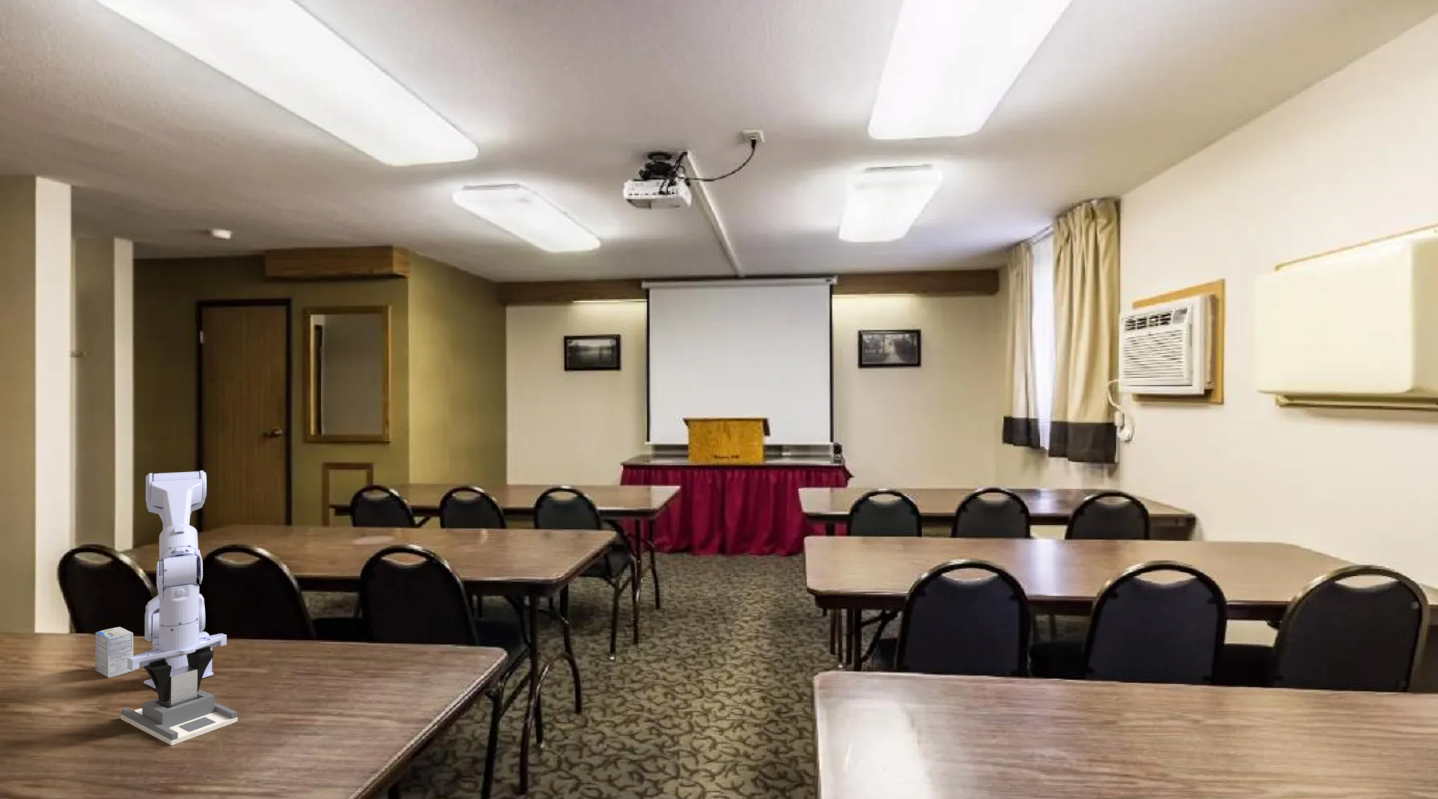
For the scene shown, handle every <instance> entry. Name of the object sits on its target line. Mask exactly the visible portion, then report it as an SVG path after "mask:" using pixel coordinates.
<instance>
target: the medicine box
mask: <svg viewBox="0 0 1438 799" xmlns="http://www.w3.org/2000/svg"><path fill="white" fill-rule="evenodd" d="M94 642H95V643H94V644H95V646H94V647H95V648H94V649H95V652H94V654H95V656H94V657H95V658H94V662H95V664H94V665H95V666H94V667H95V672H97V673H99V674H101V675H103V676H105V677H107V678H108V679H110V678H114V677H119V676H122V675H125V674H129V672H130V673H133V672H134V670H130V669H128V668H127V658H128V657H131V656H134V633H133V632H132V631H129V630H127V629H126V628H123V627H121V626H118V627H117V626H116V627H113V628H108V629H107V628H106V629H103V630H99V631H96V632H95V639H94Z"/></svg>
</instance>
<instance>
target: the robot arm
mask: <svg viewBox="0 0 1438 799" xmlns="http://www.w3.org/2000/svg"><path fill="white" fill-rule="evenodd" d="M207 487H208V486H207V472H205V471H204V470H199V471H182V472H180V471H179V472H177V471H176V472H159V473H153V472H150V473H149V472H148V474H146V476H145V502H146V509H147V512H149V513H152V514H156V515H159V518H160V519H161V522H162V531H161V532H160V534H159V537H158V539H159V541H158V544H159V550H158V551H159V553H158V554H159V555H158V557H159V561H157V562H156V588H157V592H158V594H157V595H156V596H154V597H153V598H152V599H151V600H149V601H148V602H147V604H146V605H145V613H144V640H146V641H147V642H152V644H151V645H152V649H150V650H147V651H143V652H141V653H139V654H136V655H133V656H131V657H128V658H127V668H128V669H130V670H133V671H136V670H139V669H140V668H142V667H143V668H144V670H145V671H146V673H147V674H148V676H149V677H150V679H146V680H144V681H143V684H144V685H147V686H148V687H151V688H153V689H154V690H155V689H156V692H157V696H158V697H157V698H159V701H161V702H168V701H169V679H170V673H171V670H173V669H176V668H180V667H183V666H190V667H192V668H195V669H197V692H198V691H199V689H200V686H201V683H202V680H203V679H205V678H208V677H211V676H212V677H213V675H214V672H213V658H214V655H215V654H214V653H215V652H214V651H213V648H215V647H224V646H227V644H228V643H227V636H228V635H227V634H224V633H223V632H222V633H217V634H212V635H210V634H209V633H208V632H206V631H204V630H205V628H206V608H205V598H204V596H203V595H202V593H200V585H201V584H202V581H203V577H204V575H203V574H204V572H203V570H204V569H203V566H204V565H203V564H204V563H203V556H202V554H201V551H200V549H199V541H198V540H199V539H198V530H197V529H196V527H194V526H193V525H190V523H191V522H190V521H191V515H192V512H193V511H196V510H199V509H202V508H203V507H204V506H203V505H204V504H205V501H206V498H207ZM197 579H198V580H199V581H198V582H199V584H198V583H197Z"/></svg>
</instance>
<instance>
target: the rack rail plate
mask: <svg viewBox="0 0 1438 799" xmlns="http://www.w3.org/2000/svg"><path fill="white" fill-rule="evenodd" d="M141 707H142V708H141ZM141 707H140V708H138V709H135V710H133V709H131V708H129V707H123V708H121V714H120V719H121V720H122V721H124V722H125V723H127V724H129V723H130V725H132V726H133V727H135V728H137V729H139V730H141V731H142V732H144V733H146V734H149V735H150V736H153V737H154V738H156V739H158V740H160V741H161V742H164V743H166V744H168V745H170V746H174V745H177V744H179V743H182V742H185V741H188V740H190V739H193V738H195V737H198V736H201V735H205V734H207V733H210V732H213V731H214V730H218V729H221V728H223V727H226V726H228V725H232V724H235V723H236V722H239V721H238V720H239V719H238V711H236V710H234V709H231V708H229V707H227V706H225V705H222V704H220V703H217V702H216V696H215V695H214V694H212V693H209V692H208V691H204V690H203V689H200V688H199V691H198V692H197V699H196V700H193V701H190V702H187V703H184V704H181V705H177V706H174V707H171V708H168V709H167V708H165V707H163V706H161V701H159V697H157V698H154V699H150V700H148V701H145V702H142V704H141Z"/></svg>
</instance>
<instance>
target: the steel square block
mask: <svg viewBox="0 0 1438 799" xmlns="http://www.w3.org/2000/svg"><path fill="white" fill-rule="evenodd" d="M196 699H197V669H195V668H192V667H190V666H183V667H180V668H176V669H173V670H171V673H170V679H169V701H168V702H161V706H163V707H165V708H167V709H168V708H171V707H174V706H177V705H181V704H184V703H187V702H190V701H193V700H196Z"/></svg>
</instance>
